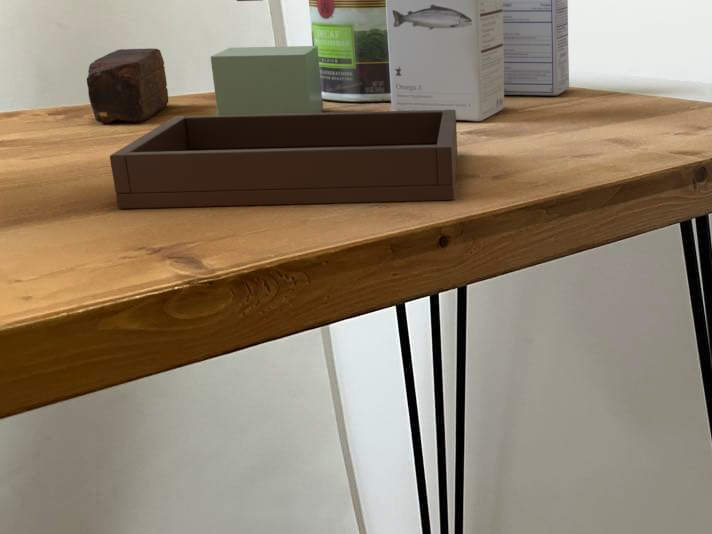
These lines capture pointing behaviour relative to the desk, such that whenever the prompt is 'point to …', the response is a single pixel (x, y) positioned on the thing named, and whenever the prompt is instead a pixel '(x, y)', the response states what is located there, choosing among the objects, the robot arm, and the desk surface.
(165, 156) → the tray
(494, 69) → the white packaging box
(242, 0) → the top block
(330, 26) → the coffee can
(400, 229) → the desk surface
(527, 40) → the medicine box
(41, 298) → the desk surface
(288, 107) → the base block
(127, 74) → the brick
